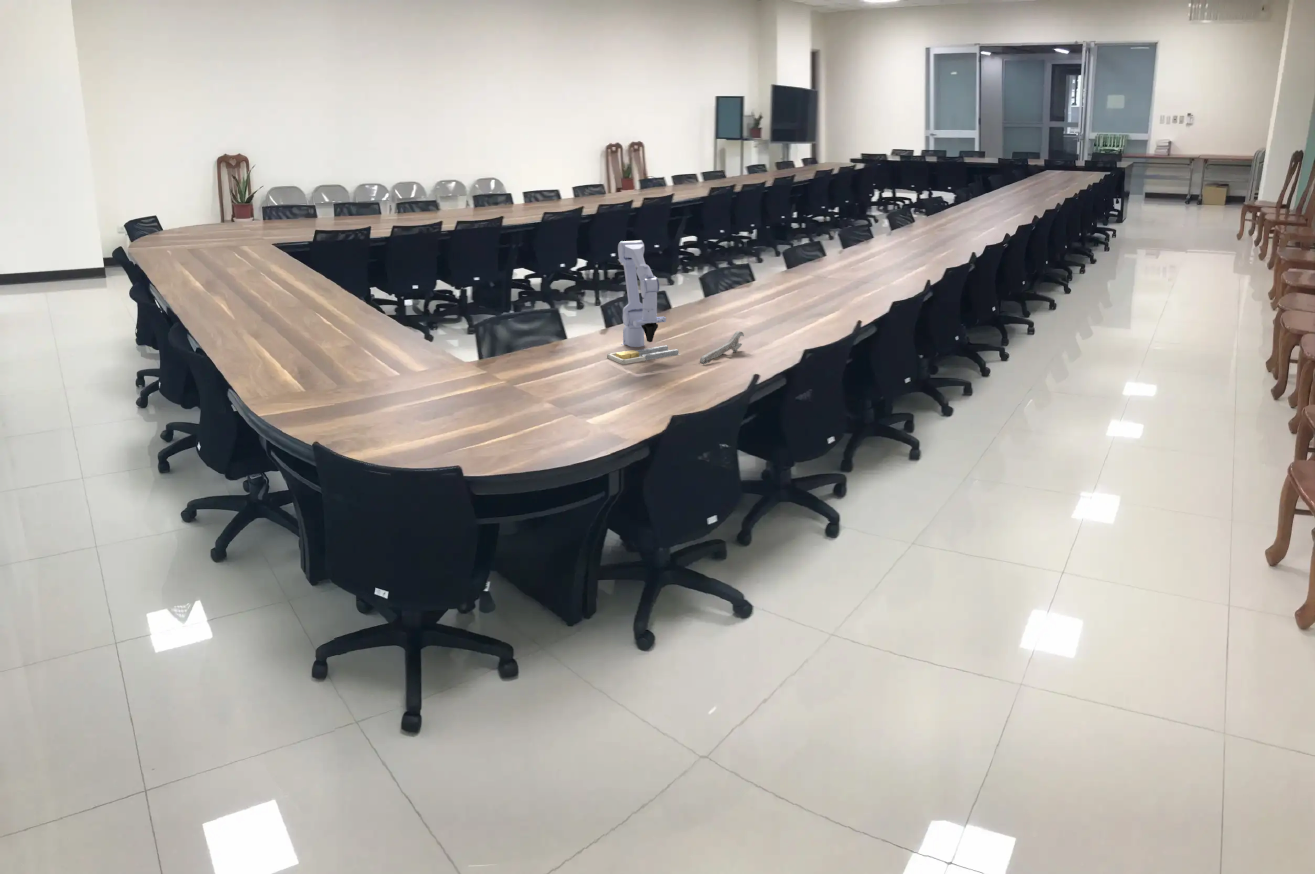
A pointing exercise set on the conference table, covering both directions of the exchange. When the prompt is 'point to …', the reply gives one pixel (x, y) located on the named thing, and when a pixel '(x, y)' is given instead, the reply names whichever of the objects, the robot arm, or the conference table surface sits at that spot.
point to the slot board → (657, 352)
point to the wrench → (723, 348)
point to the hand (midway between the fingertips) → (649, 341)
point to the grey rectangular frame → (626, 361)
